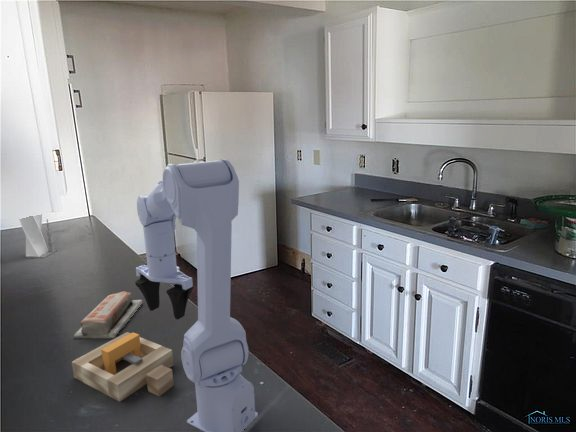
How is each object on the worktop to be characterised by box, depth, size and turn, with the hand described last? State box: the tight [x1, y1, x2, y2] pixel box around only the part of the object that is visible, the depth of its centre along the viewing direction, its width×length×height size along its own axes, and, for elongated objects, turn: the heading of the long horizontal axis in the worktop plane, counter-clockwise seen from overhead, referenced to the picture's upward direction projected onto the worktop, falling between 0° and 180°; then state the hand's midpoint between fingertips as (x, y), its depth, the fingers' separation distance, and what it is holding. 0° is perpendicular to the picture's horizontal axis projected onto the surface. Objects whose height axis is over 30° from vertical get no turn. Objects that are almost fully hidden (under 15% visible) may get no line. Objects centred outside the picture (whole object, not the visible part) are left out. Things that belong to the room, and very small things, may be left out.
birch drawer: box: [71, 331, 175, 403], centre depth 86 cm, size 14×13×5 cm
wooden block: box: [101, 332, 142, 375], centre depth 86 cm, size 2×7×6 cm, turn 148°
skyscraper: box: [18, 213, 57, 259], centre depth 153 cm, size 8×8×28 cm
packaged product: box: [72, 291, 143, 339], centre depth 108 cm, size 18×5×10 cm
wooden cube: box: [146, 365, 174, 397], centre depth 81 cm, size 3×4×4 cm
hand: (166, 312), depth 91 cm, fingers open, 7 cm apart
